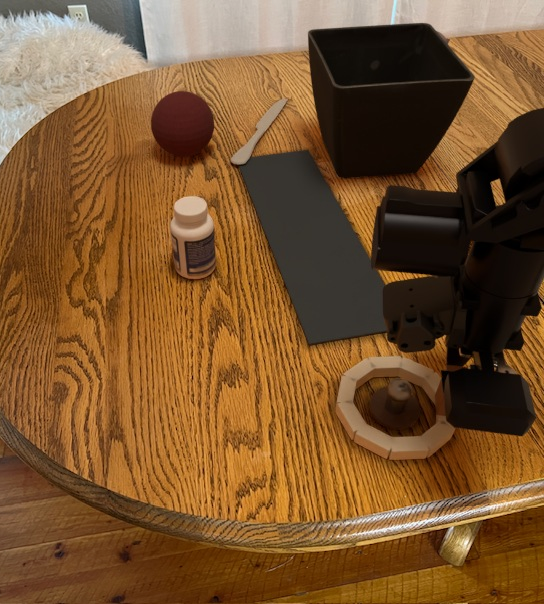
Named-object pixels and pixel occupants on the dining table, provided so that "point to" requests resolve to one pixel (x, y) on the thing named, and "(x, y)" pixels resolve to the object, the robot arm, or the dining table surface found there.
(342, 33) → the flower pot
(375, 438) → the ivory ring
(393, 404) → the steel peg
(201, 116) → the decorative ball
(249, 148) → the butter knife
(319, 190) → the rubber mat
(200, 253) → the pill bottle
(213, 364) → the dining table surface
